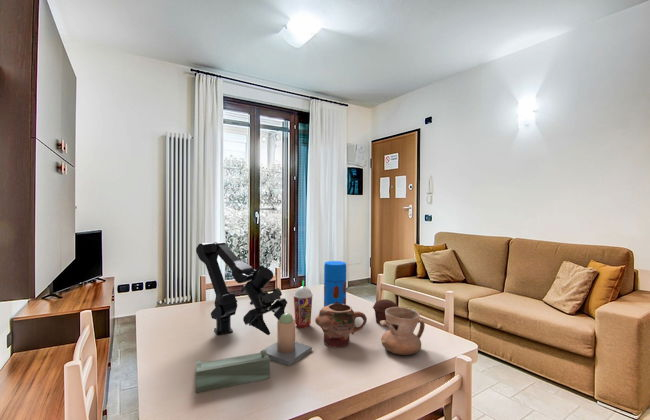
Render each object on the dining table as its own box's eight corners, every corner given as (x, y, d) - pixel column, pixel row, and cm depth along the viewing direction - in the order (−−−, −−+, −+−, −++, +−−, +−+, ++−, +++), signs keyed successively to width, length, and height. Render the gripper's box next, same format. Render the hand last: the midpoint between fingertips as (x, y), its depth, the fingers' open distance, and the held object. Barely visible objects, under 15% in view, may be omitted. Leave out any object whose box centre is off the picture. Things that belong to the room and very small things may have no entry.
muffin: (397, 318, 148) (397, 297, 148) (400, 327, 137) (400, 305, 137) (371, 317, 150) (372, 296, 149) (373, 326, 139) (373, 303, 138)
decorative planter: (362, 334, 130) (362, 301, 129) (369, 348, 118) (370, 311, 117) (313, 336, 127) (314, 302, 127) (316, 350, 115) (316, 313, 115)
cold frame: (196, 369, 101) (196, 351, 101) (261, 358, 109) (261, 341, 109) (196, 392, 89) (196, 372, 89) (269, 378, 97) (269, 358, 97)
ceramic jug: (387, 361, 108) (388, 320, 107) (371, 342, 122) (373, 306, 121) (434, 357, 112) (436, 318, 111) (414, 339, 126) (415, 304, 125)
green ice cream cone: (273, 350, 112) (273, 314, 111) (283, 343, 117) (283, 309, 117) (288, 354, 109) (289, 317, 109) (298, 347, 115) (298, 312, 114)
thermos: (349, 312, 155) (350, 262, 155) (339, 319, 146) (339, 266, 146) (331, 308, 161) (331, 260, 161) (319, 314, 152) (319, 263, 152)
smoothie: (309, 330, 134) (310, 283, 133) (290, 328, 136) (291, 282, 135) (314, 322, 142) (314, 278, 142) (296, 321, 144) (296, 277, 143)
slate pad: (260, 355, 111) (260, 351, 111) (284, 342, 122) (284, 338, 122) (288, 366, 104) (288, 361, 104) (311, 350, 115) (311, 346, 115)
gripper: (249, 288, 110) (272, 326, 104) (284, 277, 125) (306, 310, 120) (233, 305, 114) (255, 344, 109) (269, 293, 130) (289, 326, 124)
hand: (278, 330), depth 115 cm, fingers open, 9 cm apart
